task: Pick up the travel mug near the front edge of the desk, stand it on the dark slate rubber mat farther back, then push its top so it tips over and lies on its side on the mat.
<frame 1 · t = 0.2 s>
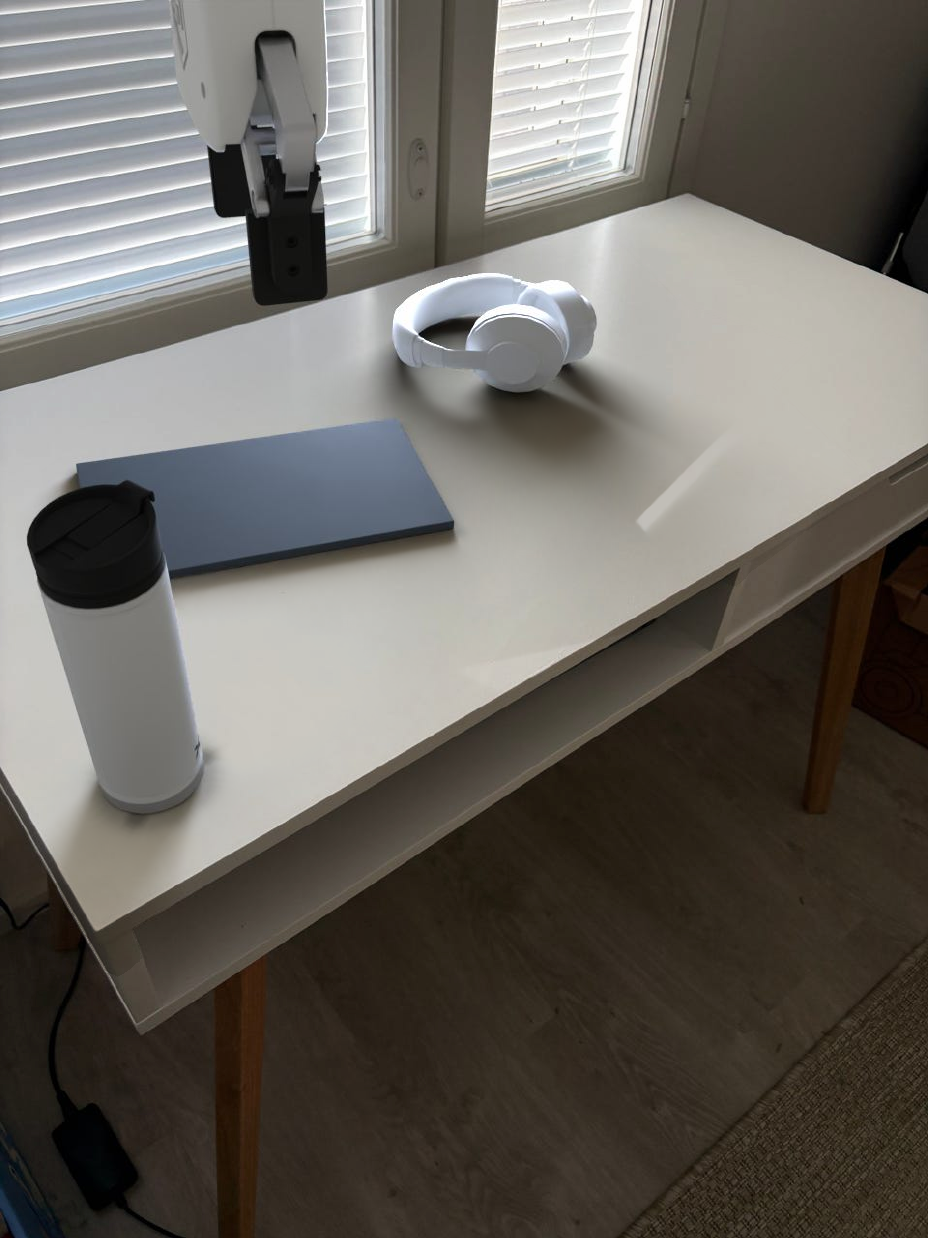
hand: (267, 253, 48), 30 cm above the table, tool pointing down, fingers open, 9 cm apart
travel mug: (155, 774, 63), on the table
mat: (262, 499, 83), on the table
headphones: (489, 357, 103), on the table
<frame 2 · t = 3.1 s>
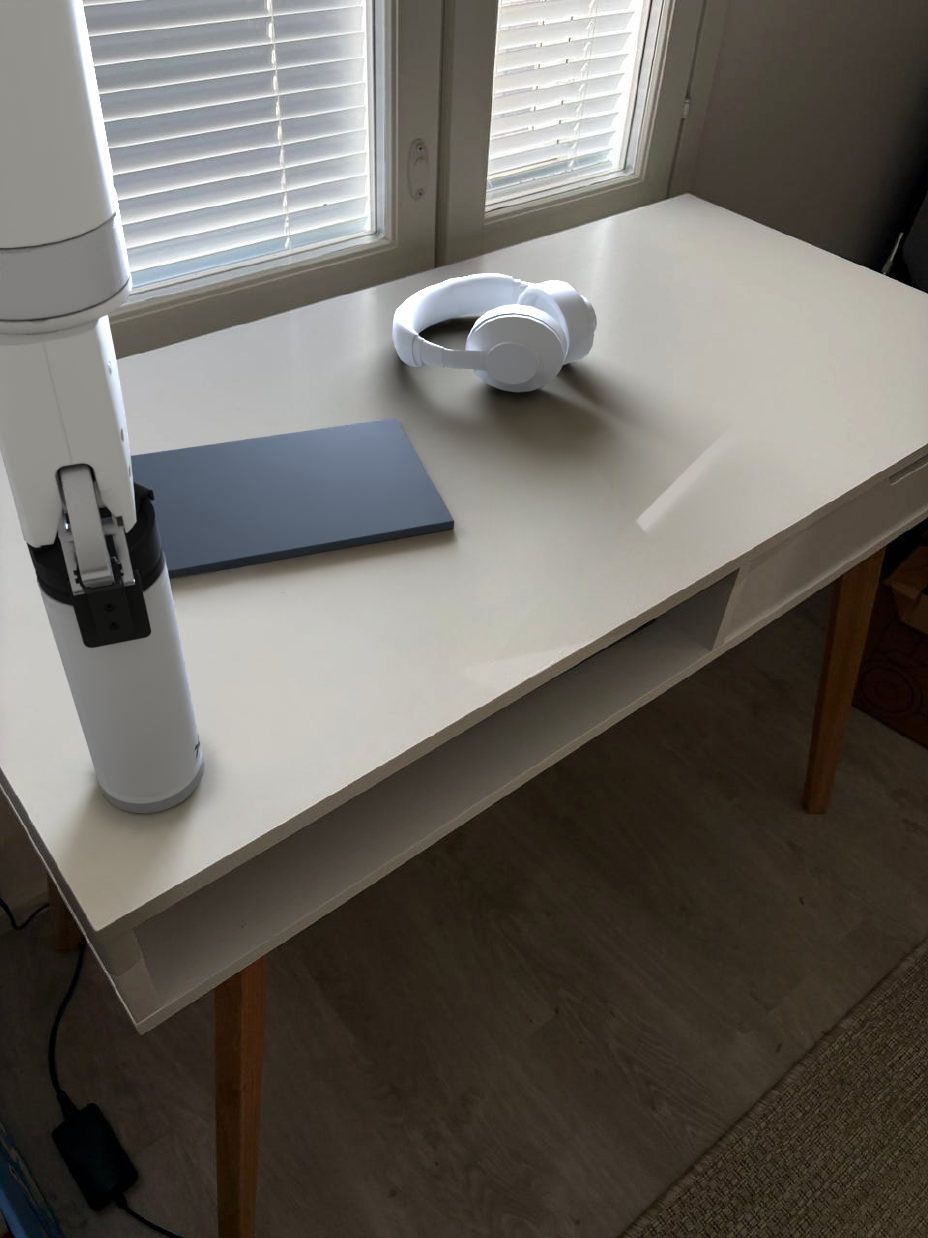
hand: (110, 591, 52), 15 cm above the table, tool pointing down, fingers closed on travel mug, 6 cm apart
travel mug: (155, 774, 63), on the table, touching gripper
everything else where it was.
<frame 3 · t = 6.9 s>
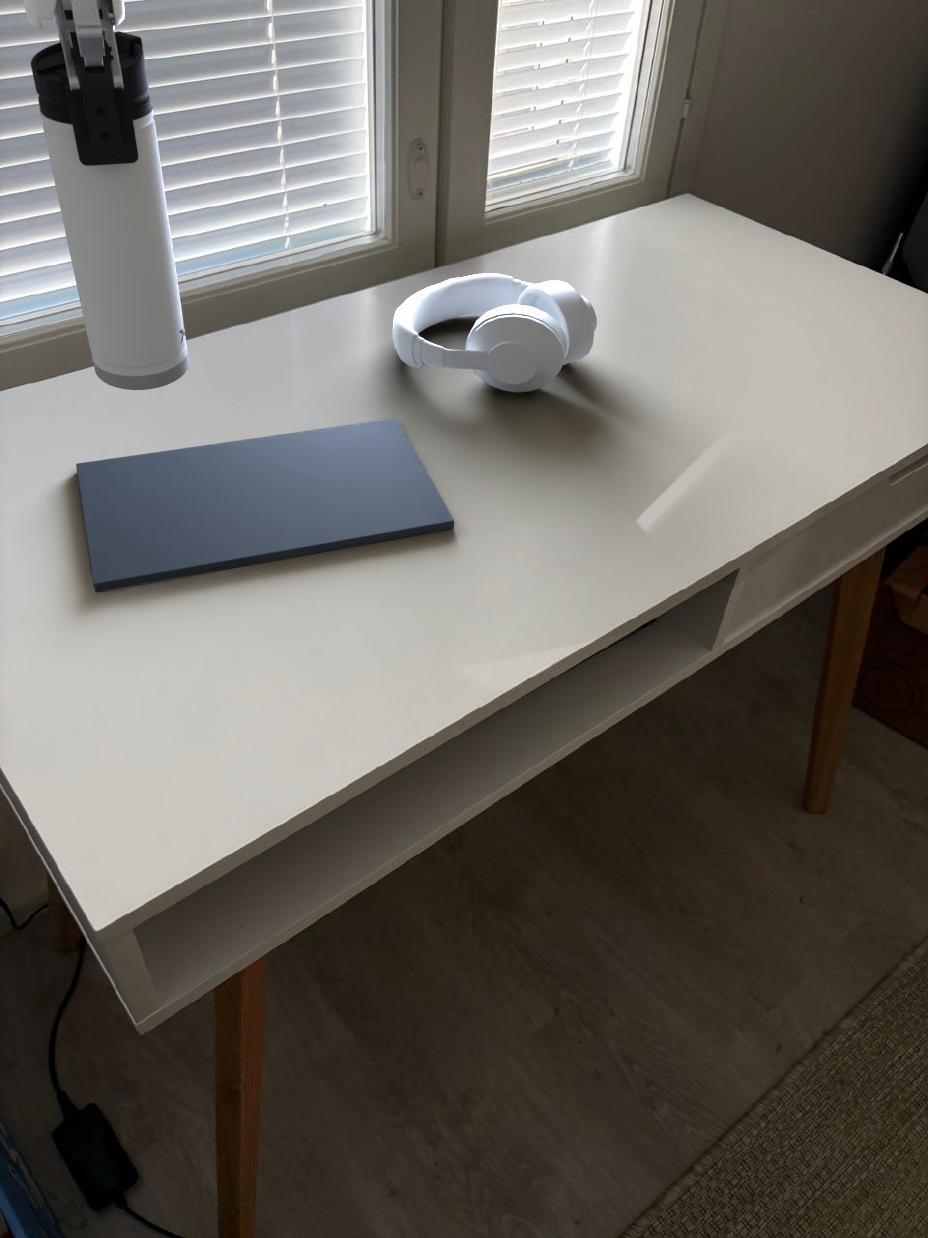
hand: (103, 138, 59), 30 cm above the table, tool pointing down, fingers closed on travel mug, 6 cm apart
travel mug: (145, 370, 70), point 14 cm above the table, touching gripper
everything else where it was.
when the fingers open (16 cm above the table, at t = 10.6 s): travel mug stays where it is, resting on mat.
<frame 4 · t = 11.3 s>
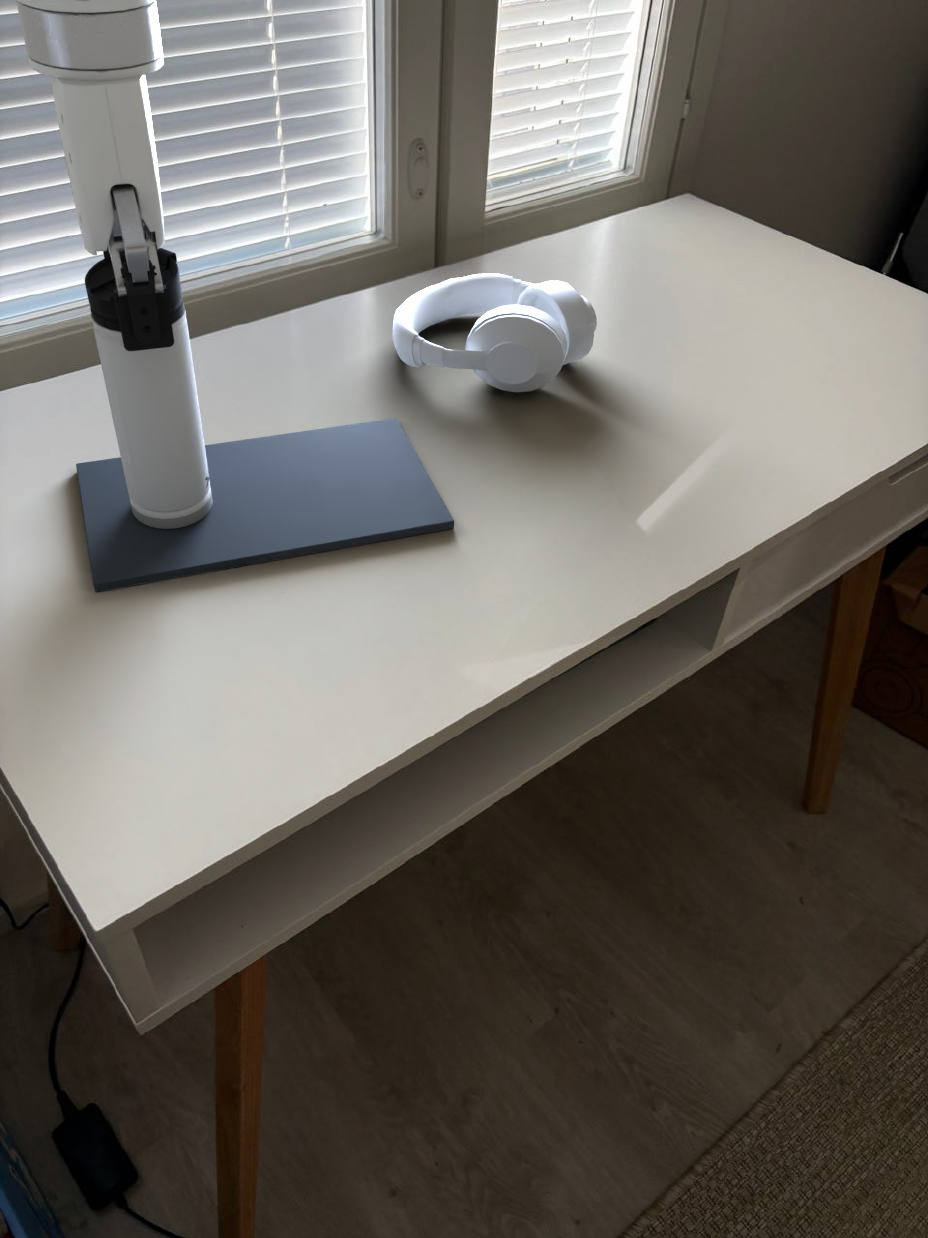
hand: (140, 313, 70), 17 cm above the table, tool pointing down, fingers open, 9 cm apart
travel mug: (174, 507, 81), point 1 cm above the table, touching mat
everything else where it was.
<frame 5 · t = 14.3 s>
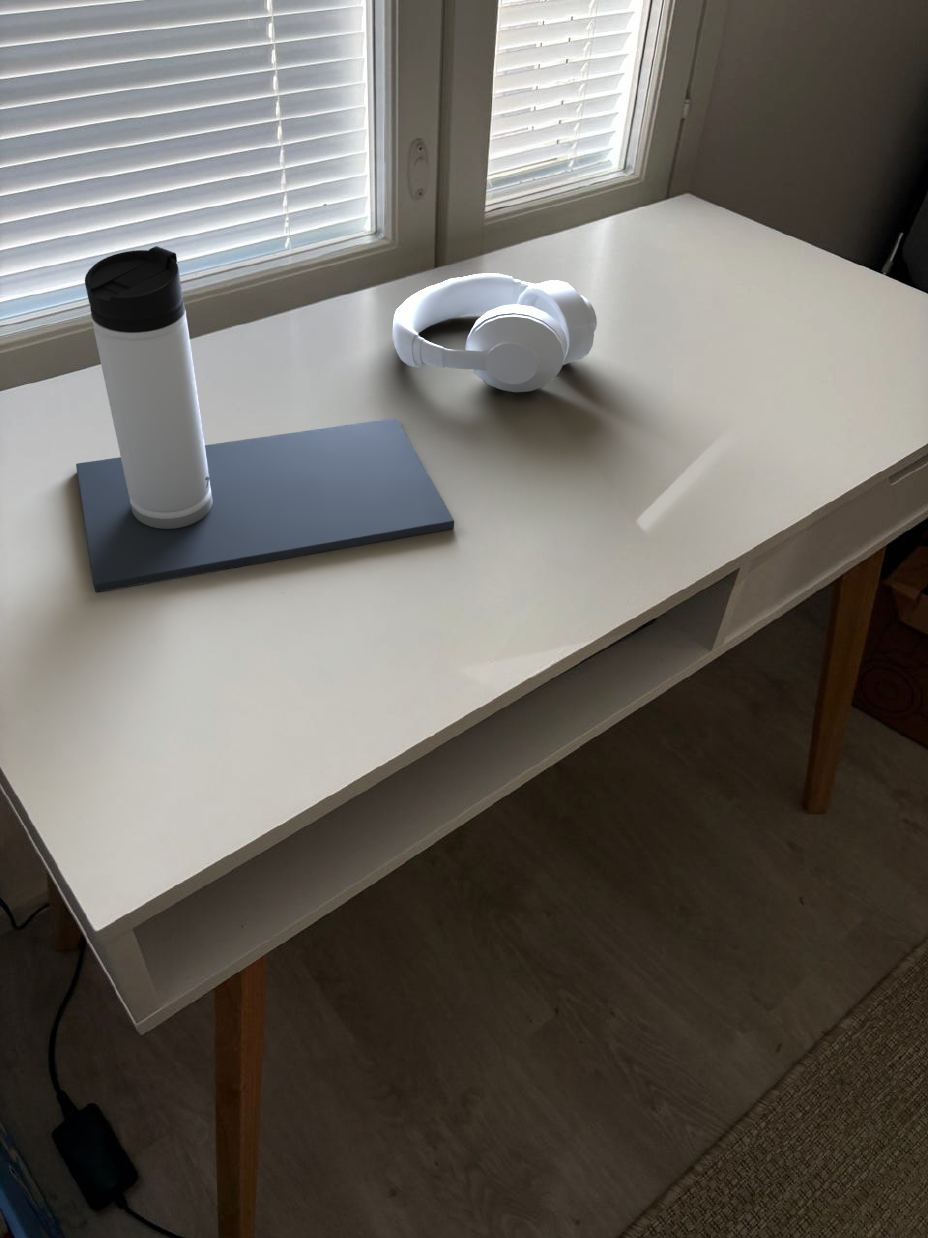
nothing on the table moved.
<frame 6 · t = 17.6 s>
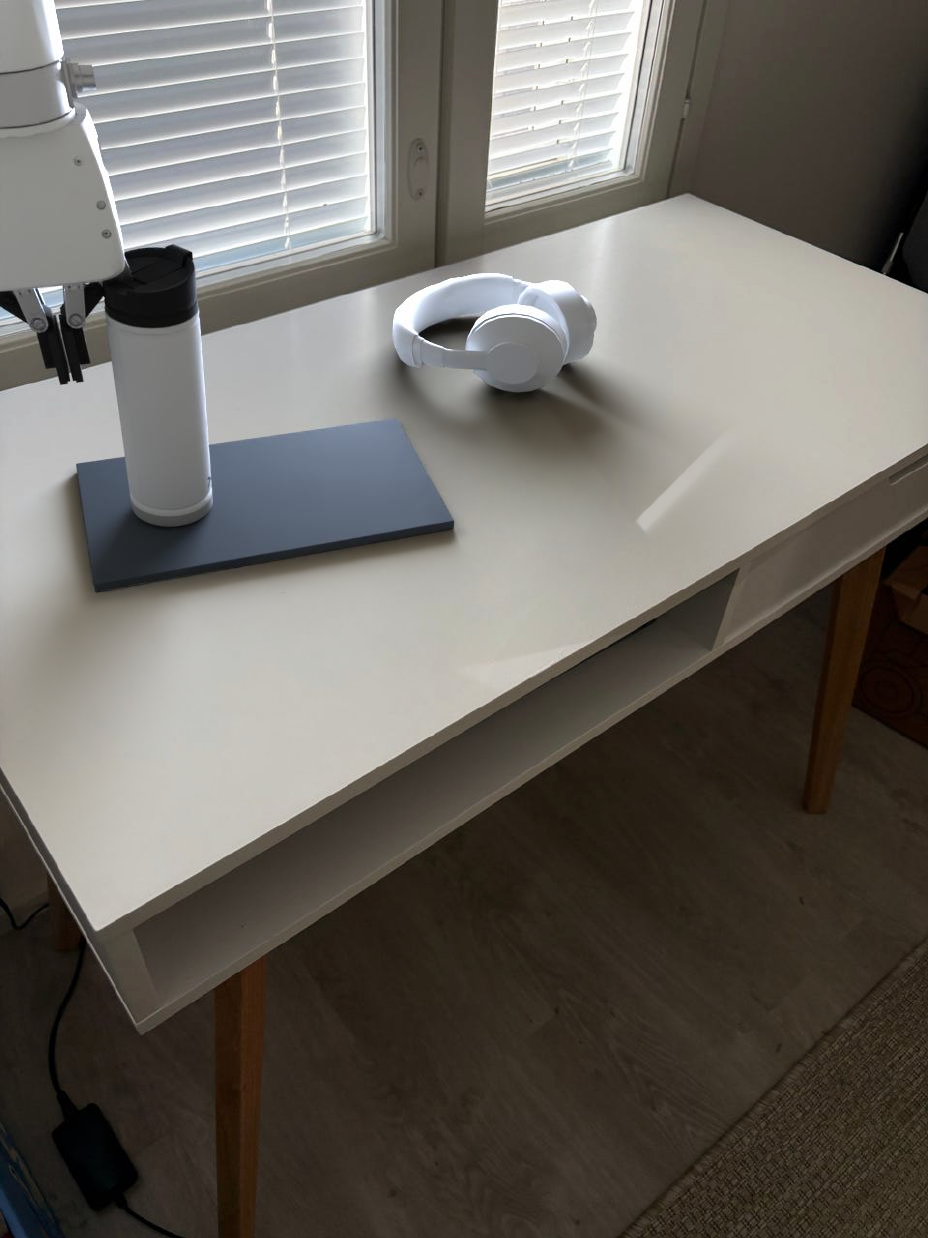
hand: (70, 373, 71), 13 cm above the table, tool pointing down, fingers closed
travel mug: (174, 505, 81), point 1 cm above the table, touching gripper, mat
everything else where it was.
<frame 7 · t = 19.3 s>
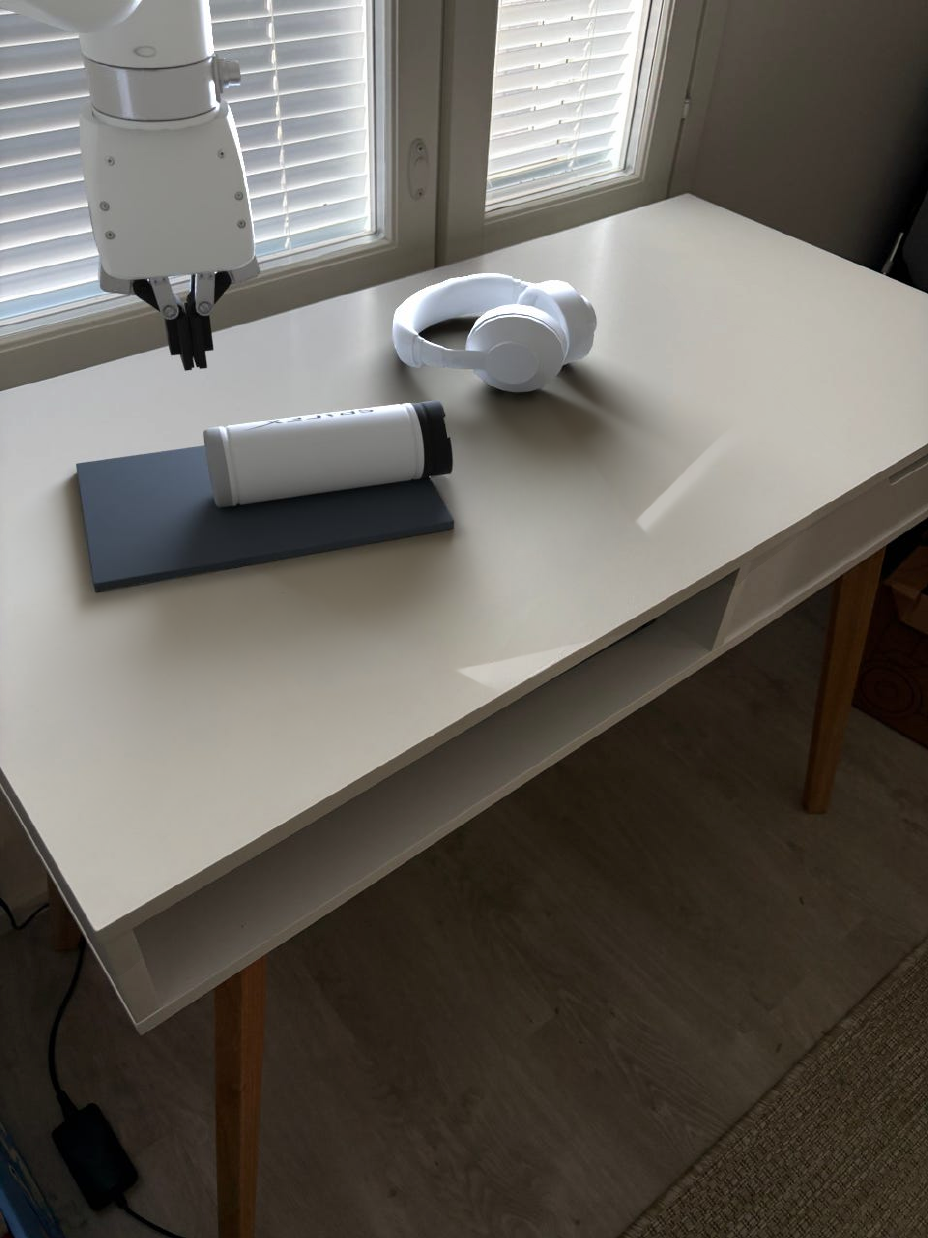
hand: (192, 359, 73), 13 cm above the table, tool pointing down, fingers closed
travel mug: (207, 469, 80), point 4 cm above the table, touching mat
everything else where it was.
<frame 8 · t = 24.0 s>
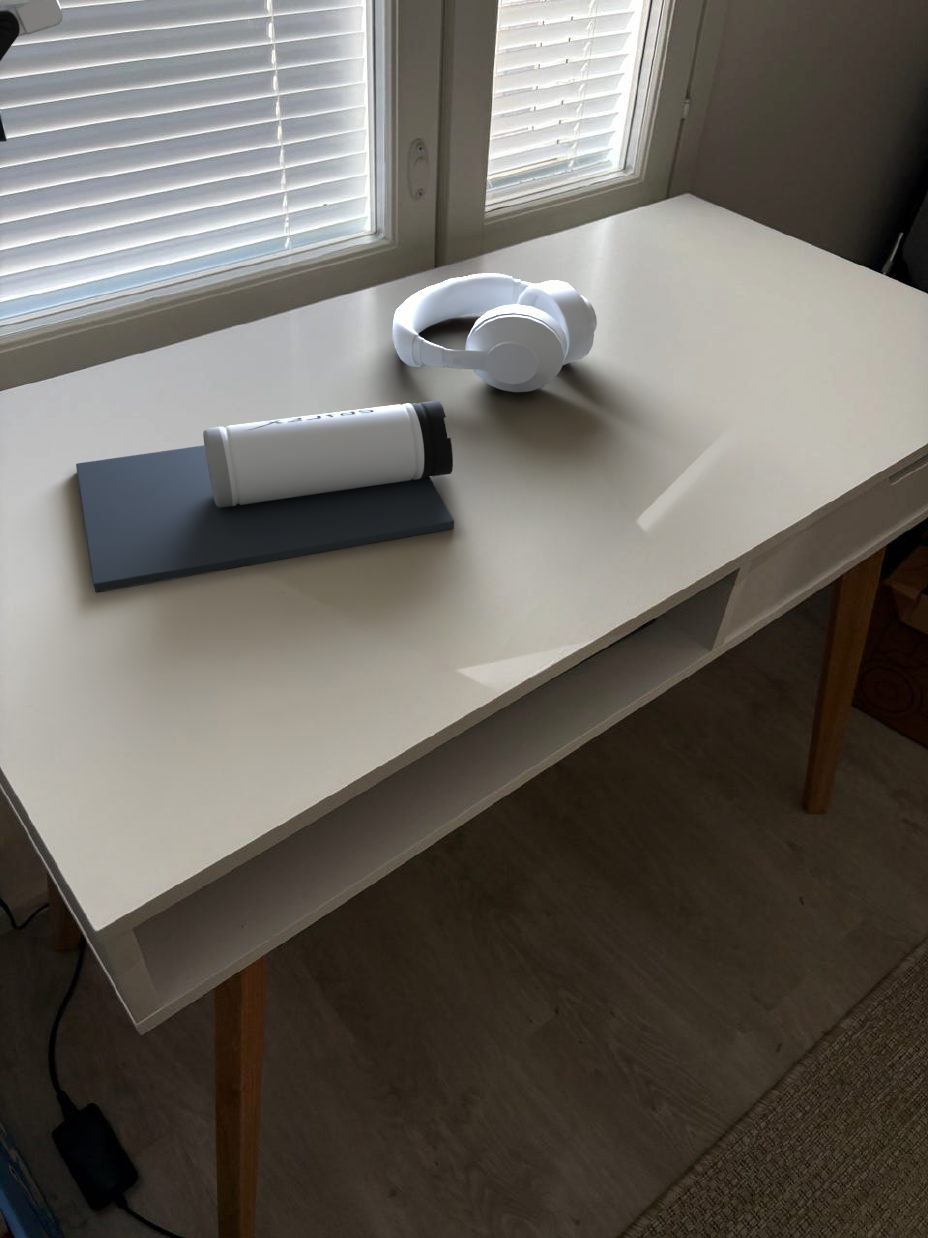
nothing on the table moved.
at the end: travel mug tilted 90°; travel mug inside the target area on the mat (4.1 cm from its centre), point 3.8 cm above the mat's base; the gripper is holding nothing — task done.
